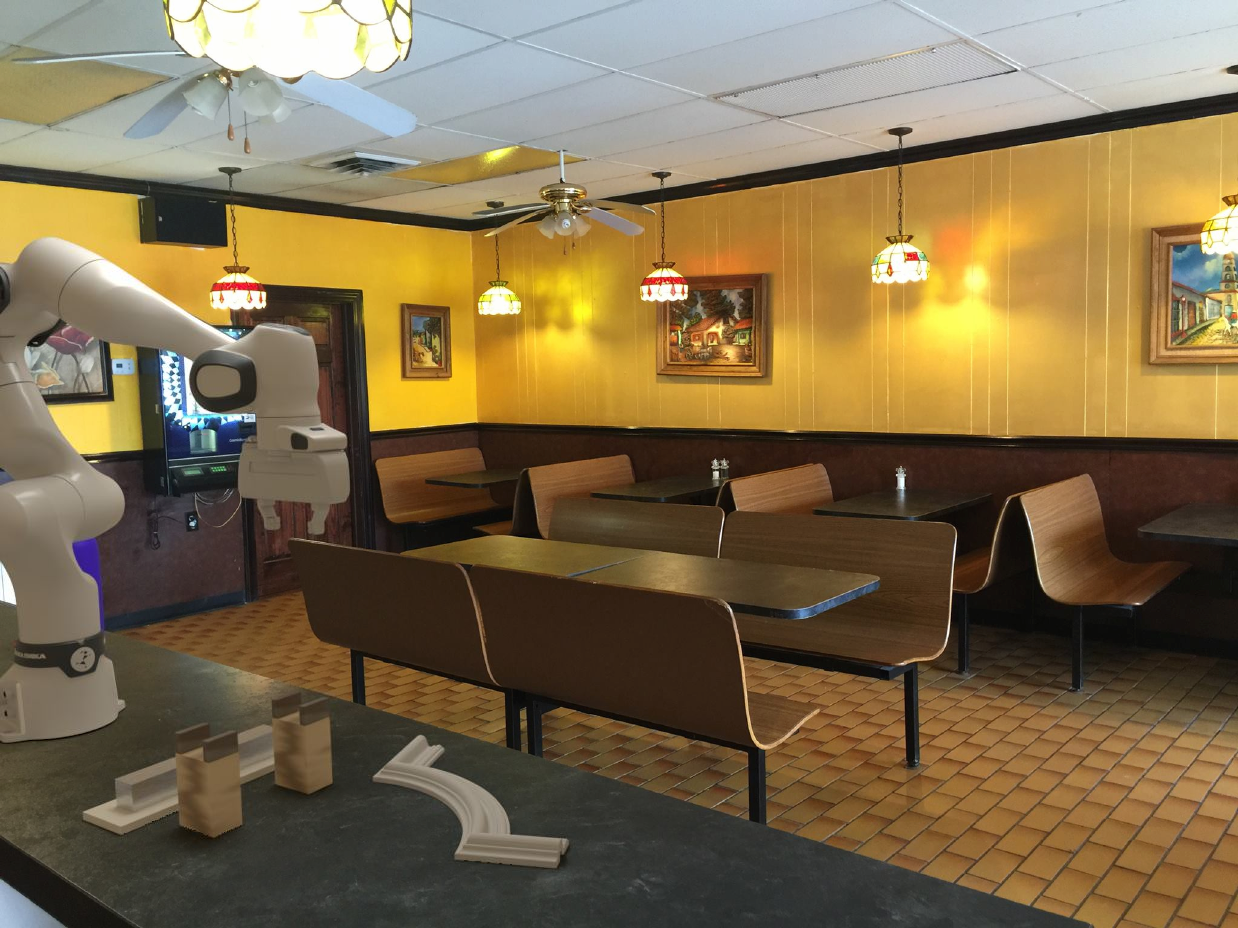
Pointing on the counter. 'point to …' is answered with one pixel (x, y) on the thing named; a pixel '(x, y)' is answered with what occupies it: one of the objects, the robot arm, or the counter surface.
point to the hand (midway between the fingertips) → (294, 531)
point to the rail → (162, 776)
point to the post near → (208, 780)
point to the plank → (157, 805)
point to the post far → (301, 743)
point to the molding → (470, 811)
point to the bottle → (90, 566)
